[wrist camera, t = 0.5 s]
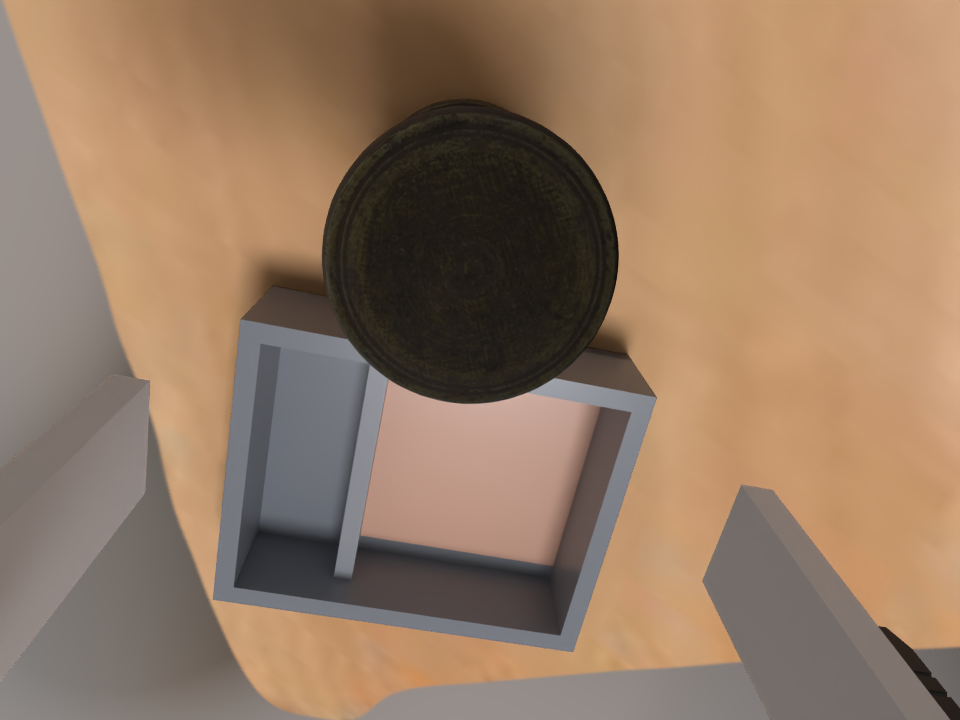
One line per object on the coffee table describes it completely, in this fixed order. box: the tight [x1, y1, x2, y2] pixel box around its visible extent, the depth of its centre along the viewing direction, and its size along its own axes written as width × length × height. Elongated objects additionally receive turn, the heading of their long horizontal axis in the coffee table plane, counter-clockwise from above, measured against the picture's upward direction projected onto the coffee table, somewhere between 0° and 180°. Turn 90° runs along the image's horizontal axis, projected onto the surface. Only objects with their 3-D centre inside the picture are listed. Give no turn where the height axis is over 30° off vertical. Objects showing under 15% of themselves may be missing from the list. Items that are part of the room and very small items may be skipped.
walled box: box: [213, 286, 657, 652], centre depth 38 cm, size 16×20×6 cm
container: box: [322, 99, 619, 404], centre depth 28 cm, size 9×9×18 cm
